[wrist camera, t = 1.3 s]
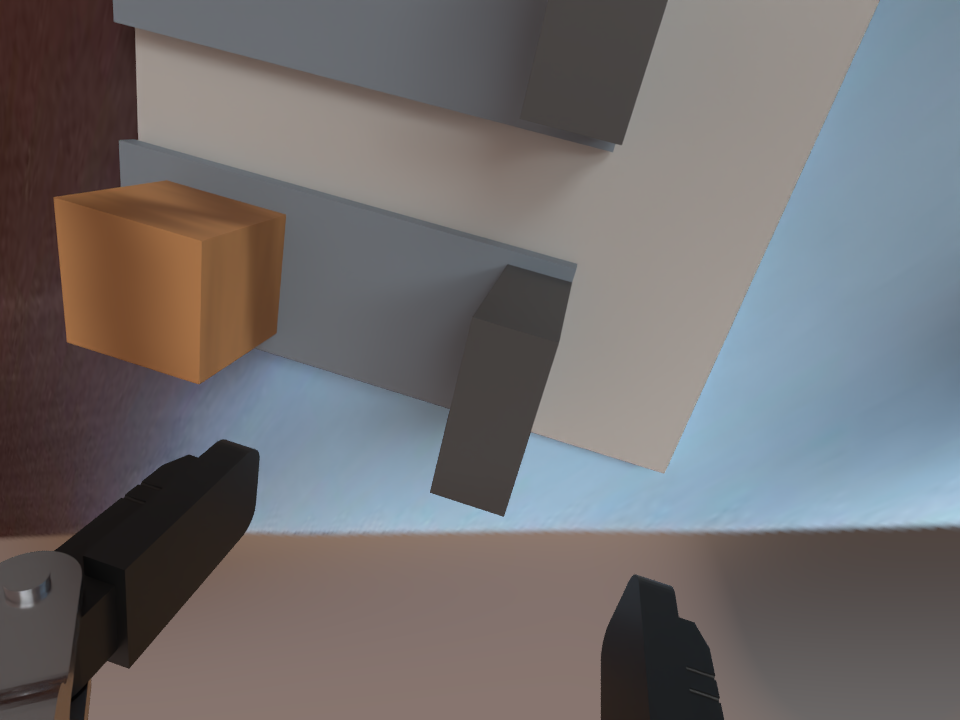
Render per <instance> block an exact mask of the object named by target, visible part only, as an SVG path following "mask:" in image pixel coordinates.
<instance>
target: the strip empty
mask: <svg viewBox="0 0 960 720" xmlns="http://www.w3.org/2000/svg"><path fill="white" fill-rule="evenodd" d="M667 2H668V0H113V14H114V22H116V23H120V24H124V25H128V26H132V27H136V28H139V29H143V30H147V31H151V32H155V33H158V34H162V35H166V36H170V37H174V38H178V39H181V40H185V41H189V42H193V43H197V44H201V45H204V46H208V47H212V48H216V49H220V50H223V51H227V52H231V53H235V54H239V55H243V56H246V57H250V58H254V59H258V60H262V61H266V62H269V63H273V64H277V65H281V66H285V67H288V68H292V69H296V70H300V71H304V72H308V73H311V74H315V75H319V76H323V77H327V78H331V79H334V80H338V81H342V82H346V83H350V84H353V85H357V86H361V87H365V88H369V89H373V90H376V91H380V92H384V93H388V94H392V95H396V96H399V97H403V98H407V99H411V100H415V101H418V102H422V103H426V104H430V105H434V106H438V107H441V108H445V109H449V110H453V111H457V112H461V113H464V114H468V115H472V116H476V117H480V118H483V119H487V120H491V121H495V122H499V123H503V124H506V125H510V126H514V127H518V128H522V129H526V130H529V131H533V132H537V133H541V134H545V135H548V136H552V137H556V138H560V139H564V140H568V141H571V142H575V143H579V144H583V145H587V146H591V147H594V148H598V149H602V150H606V151H610V152H613V150H614V147H615V144H618V145H622V144H623V140H624V137H625V134H626V131H627V128H628V125H629V121H630V118H631V115H632V112H633V109H634V106H635V103H636V99H637V96H638V93H639V90H640V87H641V84H642V81H643V77H644V74H645V71H646V68H647V65H648V62H649V59H650V55H651V52H652V49H653V46H654V43H655V40H656V37H657V33H658V30H659V27H660V24H661V21H662V18H663V15H664V11H665V8H666V5H667Z"/></svg>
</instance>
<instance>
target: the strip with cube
mask: <svg viewBox="0 0 960 720" xmlns="http://www.w3.org/2000/svg"><path fill="white" fill-rule="evenodd" d="M119 155H120V178H121V187H125V186H132V185H138V184H145V183H152V182H158V181H165V180H167V181H171V182H174V183H178V184H181V185H185V186H188V187H192V188H195V189H199V190H202V191H206V192H209V193H213V194H216V195H220V196H223V197H227V198H230V199H234V200H237V201H241V202H244V203H248V204H251V205H255V206H258V207H262V208H265V209H269V210H272V211H276V212H279V213H282V214H286V224H285V237H284V249H283V261H282V273H281V286H280V298H279V310H278V323H277V333H276V334H275V335H273V336H272V337H270V338H269V339H267V340H266V341H264V342H263V343H261V344H260V345H258V346H257V347H255V348H256V349H259V350H262V351H265V352H268V353H272V354H275V355H278V356H281V357H284V358H288V359H291V360H294V361H297V362H301V363H304V364H307V365H310V366H313V367H317V368H320V369H323V370H326V371H329V372H333V373H336V374H339V375H342V376H346V377H349V378H352V379H355V380H358V381H362V382H365V383H368V384H371V385H374V386H378V387H381V388H384V389H387V390H391V391H394V392H397V393H400V394H403V395H407V396H410V397H413V398H416V399H419V400H423V401H426V402H429V403H432V404H435V405H439V406H442V407H445V408H448V409H450V411H449V415H448V419H447V424H446V428H445V432H444V436H443V440H442V444H441V449H440V453H439V457H438V461H437V465H436V469H435V474H434V478H433V482H432V486H431V490H430V493H433V494H436V495H439V496H442V497H445V498H448V499H451V500H454V501H457V502H460V503H463V504H466V505H470V506H473V507H476V508H479V509H482V510H485V511H488V512H491V513H494V514H497V515H500V516H503V517H504V515H505V512H506V508H507V505H508V502H509V499H510V496H511V493H512V490H513V486H514V483H515V480H516V477H517V474H518V471H519V467H520V464H521V461H522V458H523V455H524V452H525V449H526V445H527V442H528V439H529V436H530V433H531V430H532V427H533V423H534V420H535V417H536V414H537V411H538V408H539V405H540V401H541V398H542V395H543V392H544V389H545V386H546V383H547V379H548V376H549V373H550V370H551V367H552V364H553V361H554V357H555V354H556V351H557V348H558V345H559V341H560V336H561V332H562V327H563V323H564V318H565V313H566V309H567V304H568V299H569V295H570V290H571V286H572V281H573V278H574V275H575V272H576V268H577V264H576V263H573V262H569V261H565V260H562V259H558V258H555V257H551V256H548V255H544V254H541V253H537V252H533V251H530V250H526V249H523V248H519V247H516V246H512V245H509V244H505V243H501V242H498V241H494V240H491V239H487V238H484V237H480V236H477V235H473V234H469V233H466V232H462V231H459V230H455V229H452V228H448V227H445V226H441V225H437V224H434V223H430V222H427V221H423V220H420V219H416V218H413V217H409V216H405V215H402V214H398V213H395V212H391V211H388V210H384V209H381V208H377V207H373V206H370V205H366V204H363V203H359V202H356V201H352V200H349V199H345V198H341V197H338V196H334V195H331V194H327V193H324V192H320V191H317V190H313V189H309V188H306V187H302V186H299V185H295V184H292V183H288V182H285V181H281V180H277V179H274V178H270V177H267V176H263V175H260V174H256V173H252V172H249V171H245V170H242V169H238V168H235V167H231V166H228V165H224V164H220V163H217V162H213V161H210V160H206V159H203V158H199V157H196V156H192V155H188V154H185V153H181V152H178V151H174V150H171V149H167V148H164V147H160V146H156V145H153V144H149V143H146V142H142V141H139V140H135V139H131V140H119Z"/></svg>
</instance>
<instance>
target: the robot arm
mask: <svg viewBox="0 0 960 720" xmlns="http://www.w3.org/2000/svg"><path fill="white" fill-rule="evenodd" d="M259 460H260V456H259V452H258V451H257V450H255V449H252V448H249V447H246V446H243V445H240V444H237V443H234V442H231V441H228V440H224V439H223V440H220V441H218V442H216V443H215V444H214V445H213V446H212V447H210V448H209V449H208V450H207V451H206V452H205V453H203V454H202V455H201V456H200V457H199V458H198V457H195V456H192V455H186V456H184V457H182V458H179V459H177V460H174V461H172V462H169V463H167V464H164V465H162V466H161V467H160V468H158V469H157V470H156V471H154V472H153V473H152V474H151V475H149V476H148V477H147V478H146V479H144V480H143V481H142V483H141V485H137V486H136V487H134V488H133V489H132V490H131V491H129V492H128V493H127V494H126V495H125V497H124V498H120V499H119V500H118V501H117V502H115V503H114V504H113V505H112V506H110V507H109V508H108V509H107V510H105V511H104V512H103V513H102V514H100V515H99V516H98V517H97V518H95V519H94V520H93V521H92V522H90V523H89V524H88V525H86V526H85V527H84V528H83V529H81V530H80V531H79V532H78V533H76V534H75V535H74V536H73V537H71V538H70V539H69V540H68V541H66V542H65V543H64V544H63V545H61V546H60V547H59V548H58V549H56V550H55V551H36V552H30V553H25V554H22V555H18V556H15V557H12V558H10V559H7V560H5V561H3V562H1V563H0V720H88V714H89V704H90V694H91V678H92V677H93V676H94V675H95V673H96V672H97V671H98V670H99V669H100V668H101V667H102V666H103V664H105V662H106V661H109V662H112V663H115V664H118V665H121V666H123V667H126V668H130V667H131V666H132V665H133V664H134V662H135V661H136V660H137V659H138V658H139V657H140V655H141V654H142V653H143V652H144V650H146V648H147V647H148V646H149V645H150V644H151V643H152V641H153V640H154V639H155V638H156V637H157V635H158V634H159V633H160V632H161V631H162V630H163V628H164V627H165V626H166V625H167V624H168V622H169V621H170V620H171V619H172V618H173V617H174V616H175V614H176V613H177V612H178V611H179V610H180V609H181V607H182V606H183V605H184V604H185V603H186V601H187V600H188V599H189V598H190V597H191V596H192V594H193V593H194V592H195V591H196V590H197V589H198V588H199V586H200V585H201V584H202V583H203V582H204V581H205V579H206V578H207V577H208V576H209V575H210V574H211V572H212V571H213V570H214V569H215V568H216V566H217V565H218V564H219V563H220V562H221V561H222V559H223V558H224V557H225V556H226V555H227V554H228V552H229V551H230V550H231V549H232V548H233V547H234V545H235V544H236V543H237V542H238V541H239V540H240V538H241V537H242V536H243V535H244V533H245V532H246V530H247V528H248V527H249V525H250V523H251V520H252V518H253V515H254V511H255V506H256V495H257V484H258V472H259ZM714 677H715V673H714V668H713V663H712V659H711V653H710V649H709V647H708V645H707V644H706V642H705V640H704V638H703V637H702V635H701V633H700V631H699V630H698V628H697V627H696V625H695V623H694V622H691V621H688V620H685V619H682V618H679V616H678V610H677V603H676V597H675V592H674V589H673V587H672V586H669V585H666V584H663V583H660V582H657V581H654V580H651V579H648V578H645V577H642V576H638V575H633V576H632V577H631V579H630V580H629V582H628V584H627V586H626V589H625V591H624V593H623V596H622V597H621V599H620V601H619V603H618V606H617V608H616V610H615V612H614V614H613V616H612V618H611V620H610V622H609V625H608V627H607V630H606V633H605V637H604V640H603V645H602V652H601V720H724V717H723V712H722V707H721V703H719V698H720V697H719V693H718V687H717V682H716V680H714Z"/></svg>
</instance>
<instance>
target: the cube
mask: <svg viewBox="0 0 960 720" xmlns="http://www.w3.org/2000/svg"><path fill="white" fill-rule="evenodd" d="M54 207H55V217H56V228H57V239H58V250H59V260H60V271H61V282H62V293H63V303H64V314H65V325H66V336H67V342H68V343H71V344H74V345H78V346H81V347H84V348H87V349H90V350H93V351H96V352H99V353H103V354H106V355H109V356H112V357H115V358H118V359H121V360H124V361H128V362H131V363H134V364H137V365H140V366H143V367H146V368H149V369H152V370H156V371H159V372H162V373H165V374H168V375H171V376H174V377H177V378H181V379H184V380H187V381H190V382H193V383H196V384H201V383H202V382H204V381H205V380H207V379H208V378H210V377H211V376H213V375H214V374H216V373H217V372H219V371H220V370H222V369H223V368H225V367H226V366H228V365H229V364H231V363H232V362H234V361H235V360H237V359H238V358H240V357H242V356H243V355H245V354H246V353H248V352H249V351H251V350H252V349H254V348H255V347H257V346H258V345H260V344H261V343H263V342H264V341H266V340H267V339H269V338H270V337H272V336H273V335H275V334H276V333H277V323H278V310H279V298H280V286H281V273H282V261H283V249H284V237H285V224H286V214H282V213H279V212H276V211H272V210H269V209H265V208H262V207H258V206H255V205H251V204H248V203H244V202H241V201H237V200H234V199H230V198H227V197H223V196H220V195H216V194H213V193H209V192H206V191H202V190H199V189H195V188H192V187H188V186H185V185H181V184H178V183H174V182H171V181H167V180H165V181H158V182H152V183H145V184H138V185H132V186H125V187H118V188H112V189H105V190H98V191H92V192H85V193H78V194H72V195H65V196H58V197H54Z"/></svg>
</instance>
